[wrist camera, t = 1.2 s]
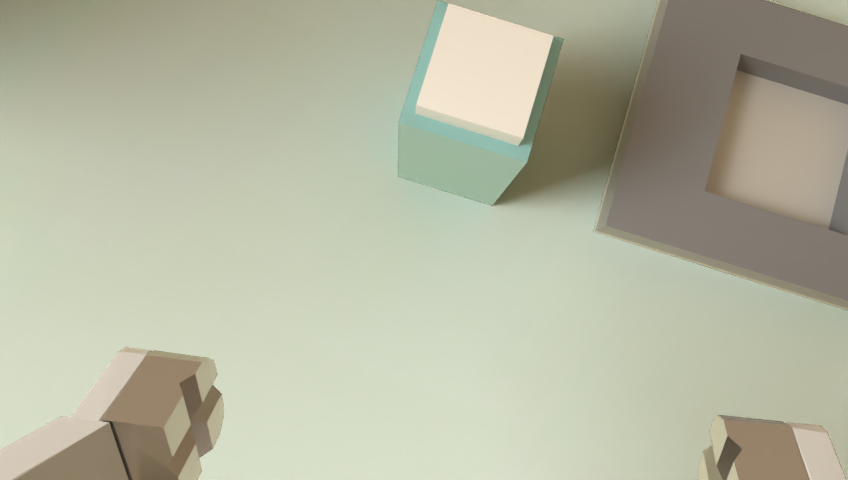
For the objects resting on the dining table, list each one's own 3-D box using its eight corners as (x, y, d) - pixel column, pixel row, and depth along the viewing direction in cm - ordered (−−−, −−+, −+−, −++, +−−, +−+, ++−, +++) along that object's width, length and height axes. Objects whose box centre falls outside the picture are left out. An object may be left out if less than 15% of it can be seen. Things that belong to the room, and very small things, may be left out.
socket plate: (593, 231, 33) (608, 224, 31) (660, -7, 35) (679, -32, 32) (885, 322, 33) (923, 322, 31) (940, 80, 35) (980, 62, 32)
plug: (398, 176, 33) (398, 113, 23) (427, 85, 34) (439, -14, 24) (492, 205, 33) (532, 155, 23) (519, 114, 34) (570, 27, 24)
